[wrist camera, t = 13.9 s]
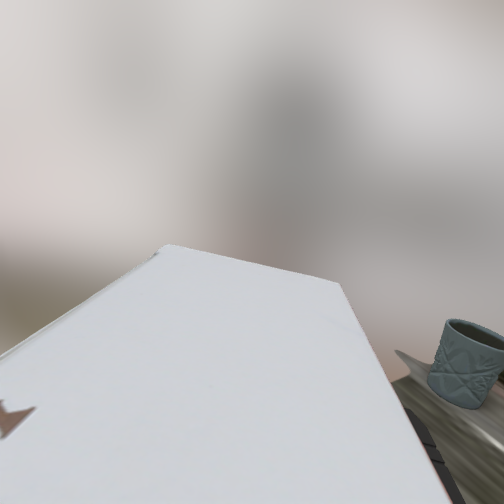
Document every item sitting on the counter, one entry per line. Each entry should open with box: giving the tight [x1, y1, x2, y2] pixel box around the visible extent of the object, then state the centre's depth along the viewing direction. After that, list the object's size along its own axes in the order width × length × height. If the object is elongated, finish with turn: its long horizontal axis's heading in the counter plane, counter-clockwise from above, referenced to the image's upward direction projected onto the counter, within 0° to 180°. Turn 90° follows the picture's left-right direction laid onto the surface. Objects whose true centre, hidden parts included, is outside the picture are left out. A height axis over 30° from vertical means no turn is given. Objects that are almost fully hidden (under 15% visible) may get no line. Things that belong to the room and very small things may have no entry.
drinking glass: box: [428, 319, 504, 409], centre depth 56 cm, size 10×10×12 cm
